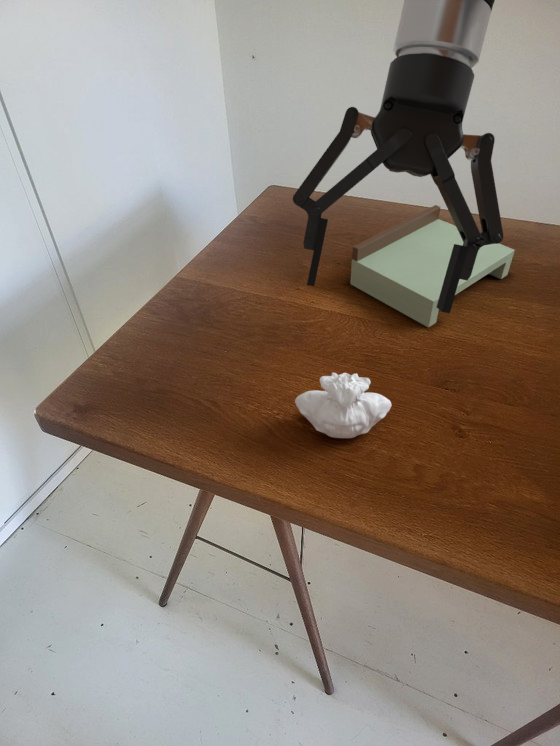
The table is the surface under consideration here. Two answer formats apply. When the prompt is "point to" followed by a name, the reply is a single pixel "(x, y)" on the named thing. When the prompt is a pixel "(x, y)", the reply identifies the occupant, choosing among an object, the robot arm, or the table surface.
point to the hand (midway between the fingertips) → (376, 297)
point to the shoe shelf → (418, 264)
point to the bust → (343, 406)
